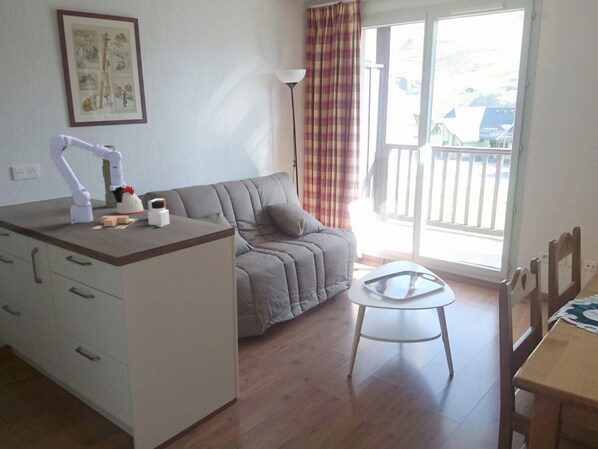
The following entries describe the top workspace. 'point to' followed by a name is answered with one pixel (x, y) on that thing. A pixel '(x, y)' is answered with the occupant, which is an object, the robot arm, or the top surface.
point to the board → (117, 226)
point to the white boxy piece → (154, 200)
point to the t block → (114, 220)
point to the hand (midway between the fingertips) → (119, 202)
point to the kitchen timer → (130, 203)
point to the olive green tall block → (108, 183)
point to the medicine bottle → (158, 214)
